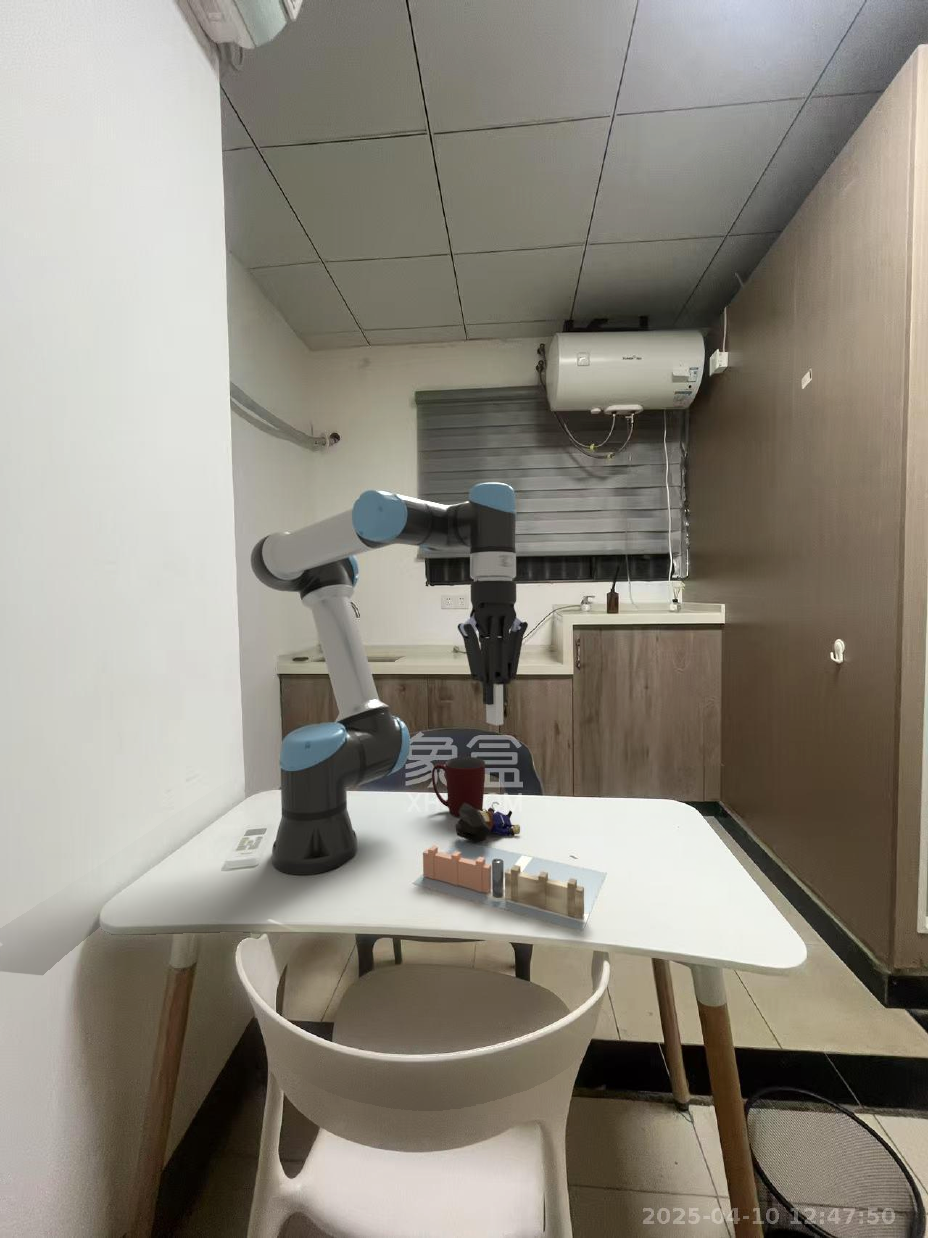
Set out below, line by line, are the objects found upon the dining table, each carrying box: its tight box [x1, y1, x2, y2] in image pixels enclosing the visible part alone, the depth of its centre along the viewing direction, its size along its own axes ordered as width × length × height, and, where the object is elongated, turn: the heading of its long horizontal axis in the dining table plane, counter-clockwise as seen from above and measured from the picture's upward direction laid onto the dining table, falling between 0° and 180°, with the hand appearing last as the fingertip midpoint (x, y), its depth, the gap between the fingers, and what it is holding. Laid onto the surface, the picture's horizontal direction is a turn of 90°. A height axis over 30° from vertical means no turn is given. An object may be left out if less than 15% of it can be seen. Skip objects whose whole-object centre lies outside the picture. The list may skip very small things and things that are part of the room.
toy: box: [455, 801, 521, 844], centre depth 100 cm, size 9×6×15 cm
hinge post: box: [492, 859, 504, 898], centre depth 79 cm, size 2×2×6 cm
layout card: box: [412, 839, 607, 932], centre depth 84 cm, size 28×17×1 cm, turn 63°
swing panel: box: [422, 845, 491, 893], centre depth 82 cm, size 12×2×5 cm, turn 63°
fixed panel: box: [505, 865, 584, 919], centre depth 76 cm, size 12×2×5 cm, turn 63°
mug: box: [431, 756, 486, 819], centre depth 112 cm, size 12×9×11 cm
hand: (494, 723), depth 83 cm, fingers closed
